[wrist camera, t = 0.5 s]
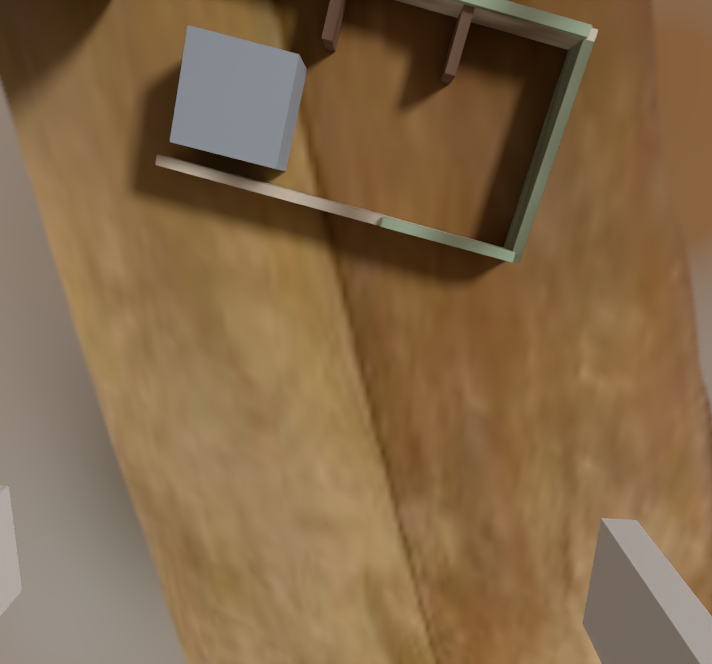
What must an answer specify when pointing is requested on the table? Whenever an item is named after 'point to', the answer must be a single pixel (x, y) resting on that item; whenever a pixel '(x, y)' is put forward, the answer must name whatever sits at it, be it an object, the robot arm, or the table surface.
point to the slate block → (237, 98)
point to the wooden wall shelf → (468, 4)
